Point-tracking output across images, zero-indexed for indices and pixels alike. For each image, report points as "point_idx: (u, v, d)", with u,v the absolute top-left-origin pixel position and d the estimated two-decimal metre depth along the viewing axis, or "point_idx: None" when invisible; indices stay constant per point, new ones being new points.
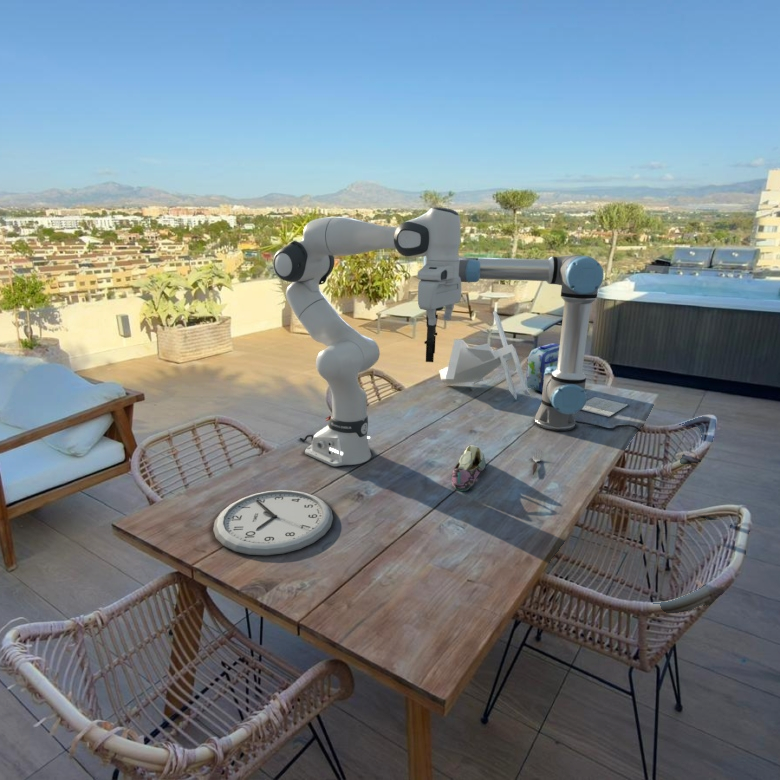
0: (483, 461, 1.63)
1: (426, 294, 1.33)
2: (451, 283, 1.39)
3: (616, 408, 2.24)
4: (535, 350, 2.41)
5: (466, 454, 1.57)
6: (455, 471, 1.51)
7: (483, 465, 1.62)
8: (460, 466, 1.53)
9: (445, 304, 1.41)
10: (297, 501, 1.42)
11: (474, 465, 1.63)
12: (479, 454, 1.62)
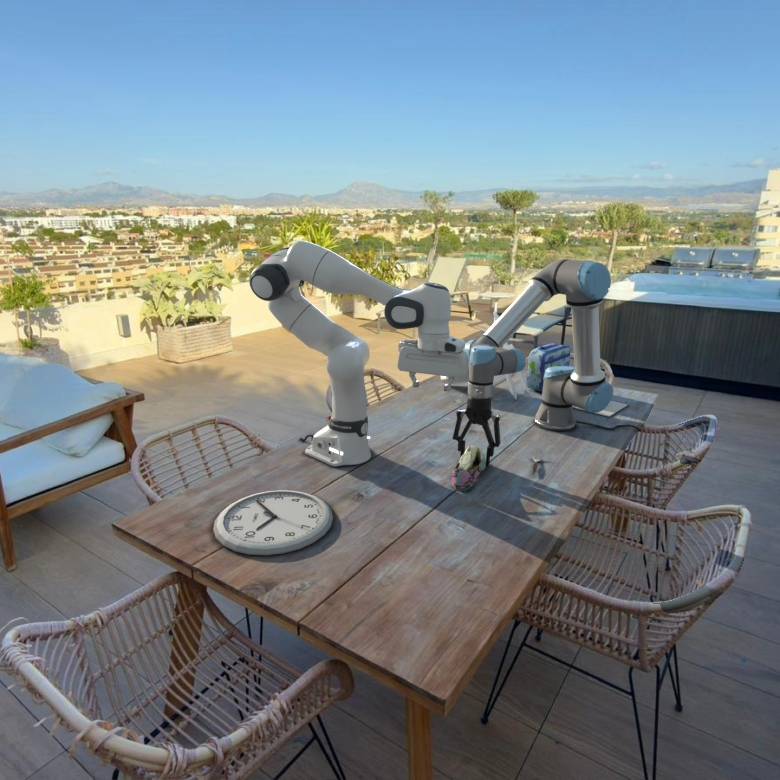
0: (483, 461, 1.62)
1: (466, 363, 1.45)
2: None
3: (616, 408, 2.24)
4: (535, 350, 2.41)
5: (466, 454, 1.57)
6: (455, 471, 1.51)
7: (483, 465, 1.62)
8: (460, 466, 1.53)
9: None
10: (297, 501, 1.42)
11: (474, 465, 1.63)
12: (479, 454, 1.62)
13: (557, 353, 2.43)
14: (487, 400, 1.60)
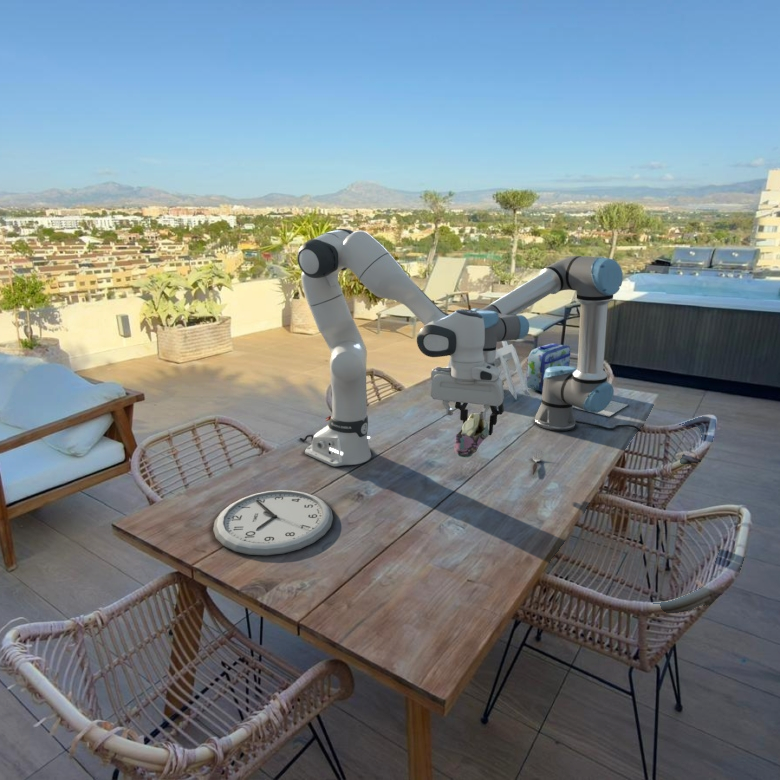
0: (486, 429, 1.59)
1: (502, 390, 1.42)
2: None
3: (616, 408, 2.24)
4: (535, 350, 2.41)
5: (469, 421, 1.53)
6: (458, 437, 1.48)
7: (486, 433, 1.58)
8: (463, 432, 1.50)
9: None
10: (297, 501, 1.42)
11: (477, 433, 1.60)
12: (482, 422, 1.58)
13: (557, 353, 2.43)
14: None
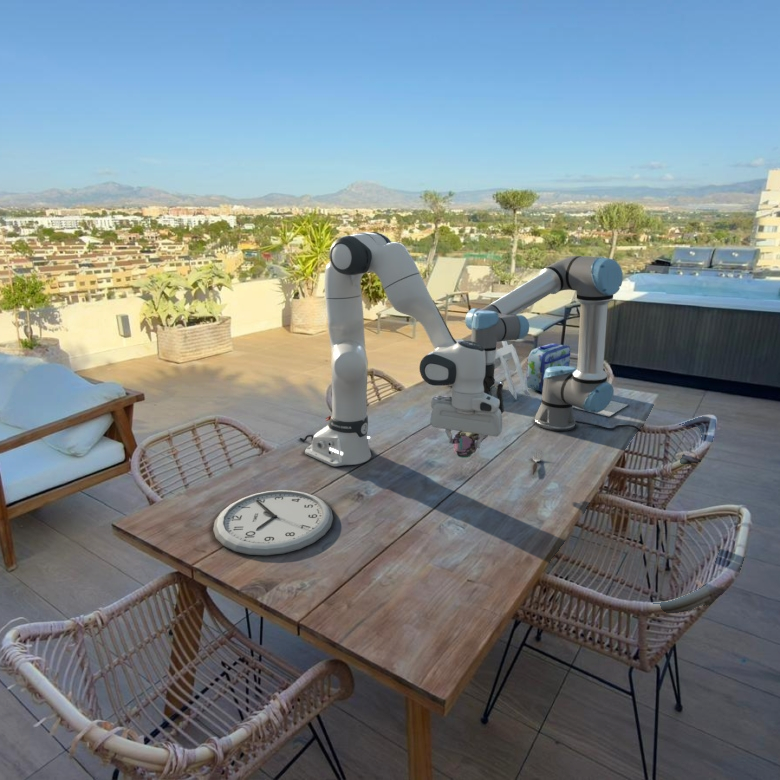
0: None
1: (501, 421, 1.44)
2: None
3: (616, 408, 2.24)
4: (535, 350, 2.41)
5: None
6: (457, 437, 1.48)
7: None
8: (462, 432, 1.50)
9: None
10: (297, 501, 1.42)
11: (477, 434, 1.60)
12: None
13: (557, 353, 2.43)
14: (490, 366, 1.57)
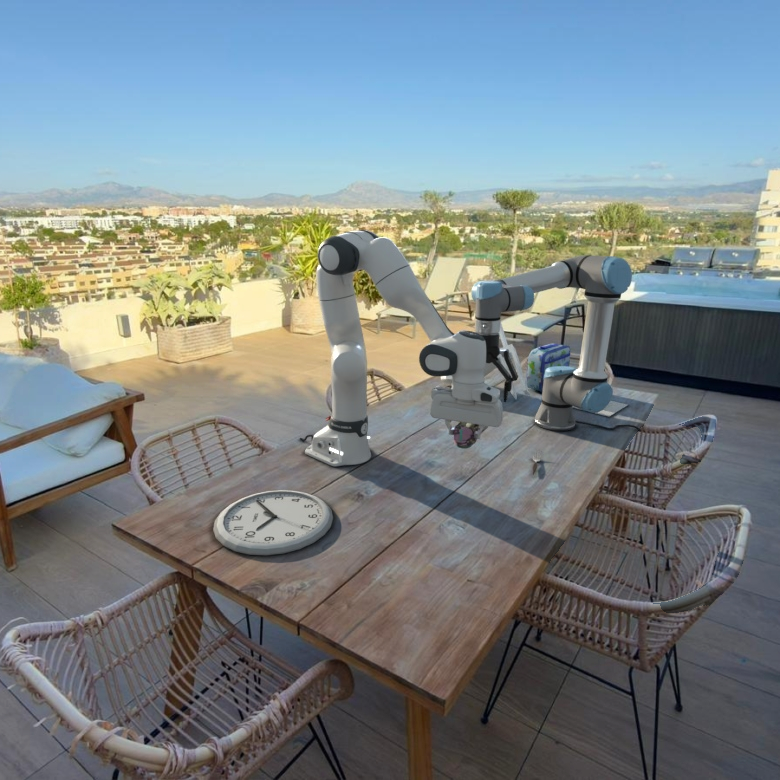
0: None
1: (501, 412, 1.44)
2: None
3: (616, 408, 2.24)
4: (535, 350, 2.41)
5: None
6: (457, 428, 1.47)
7: None
8: (462, 423, 1.49)
9: None
10: (297, 501, 1.42)
11: (477, 425, 1.59)
12: None
13: (557, 353, 2.43)
14: (495, 336, 1.57)
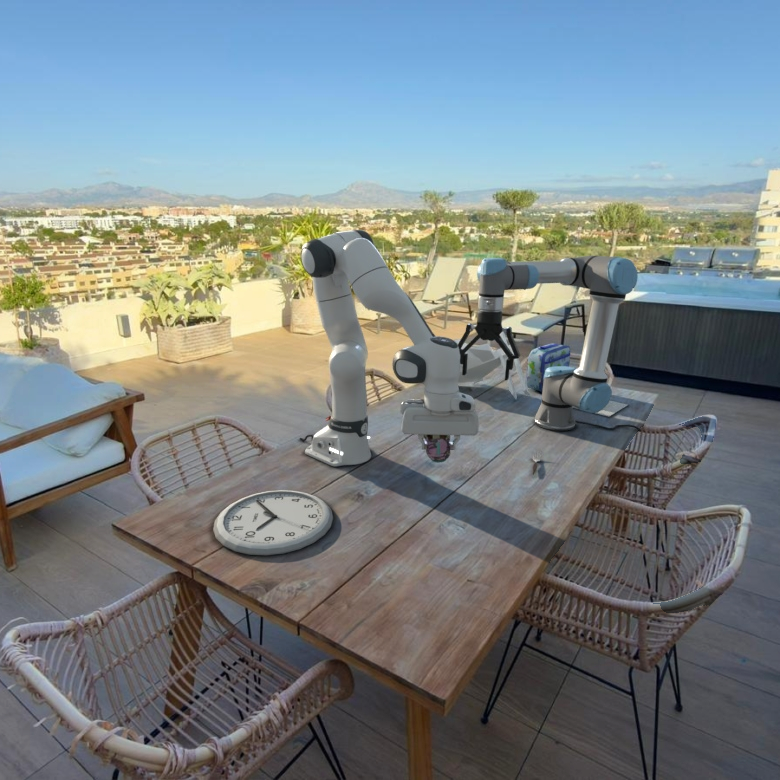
0: None
1: None
2: None
3: (616, 408, 2.24)
4: (535, 350, 2.41)
5: None
6: (433, 442, 1.37)
7: None
8: (435, 436, 1.39)
9: None
10: (297, 501, 1.42)
11: None
12: None
13: (557, 353, 2.43)
14: (498, 313, 1.57)
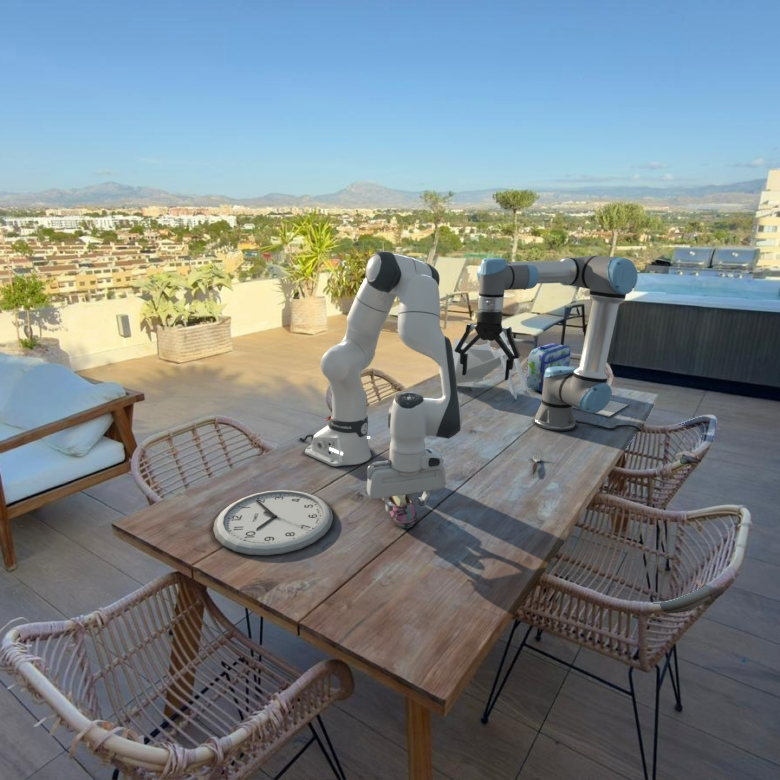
0: None
1: None
2: None
3: (616, 408, 2.24)
4: (535, 350, 2.41)
5: None
6: (402, 508, 1.30)
7: None
8: (401, 501, 1.33)
9: None
10: (297, 501, 1.42)
11: None
12: None
13: (557, 353, 2.43)
14: (498, 313, 1.57)
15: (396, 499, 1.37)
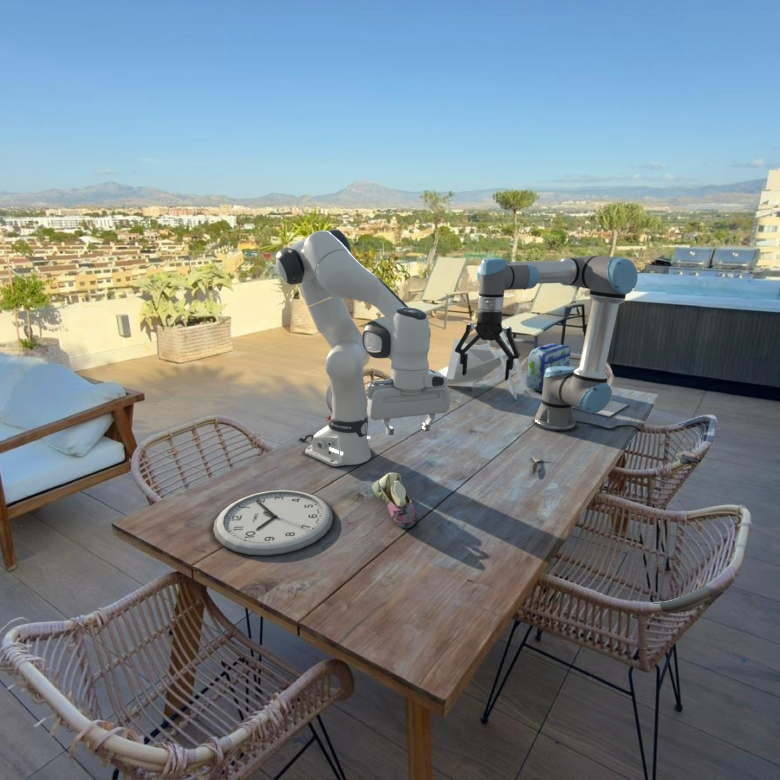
0: None
1: None
2: None
3: (616, 408, 2.24)
4: (535, 350, 2.41)
5: (397, 485, 1.37)
6: (402, 508, 1.30)
7: None
8: (401, 500, 1.33)
9: None
10: (297, 501, 1.42)
11: None
12: (399, 480, 1.44)
13: (557, 353, 2.43)
14: (498, 313, 1.57)
15: (396, 499, 1.37)
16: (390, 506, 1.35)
